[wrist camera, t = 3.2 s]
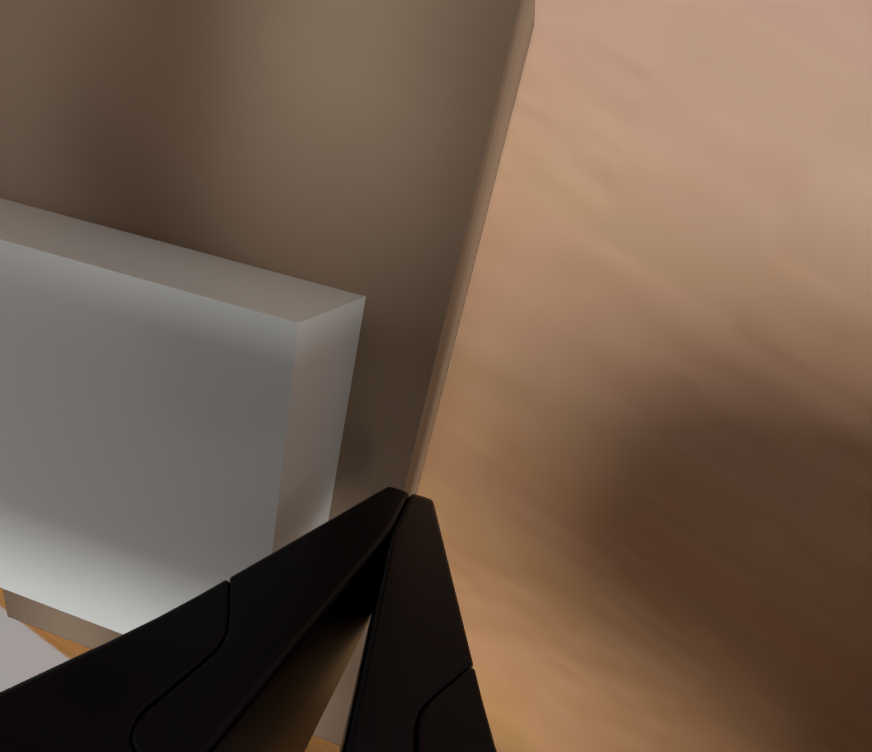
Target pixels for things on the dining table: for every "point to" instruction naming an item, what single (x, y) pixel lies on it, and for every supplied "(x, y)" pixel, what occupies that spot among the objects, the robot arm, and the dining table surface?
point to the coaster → (157, 415)
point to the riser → (281, 176)
